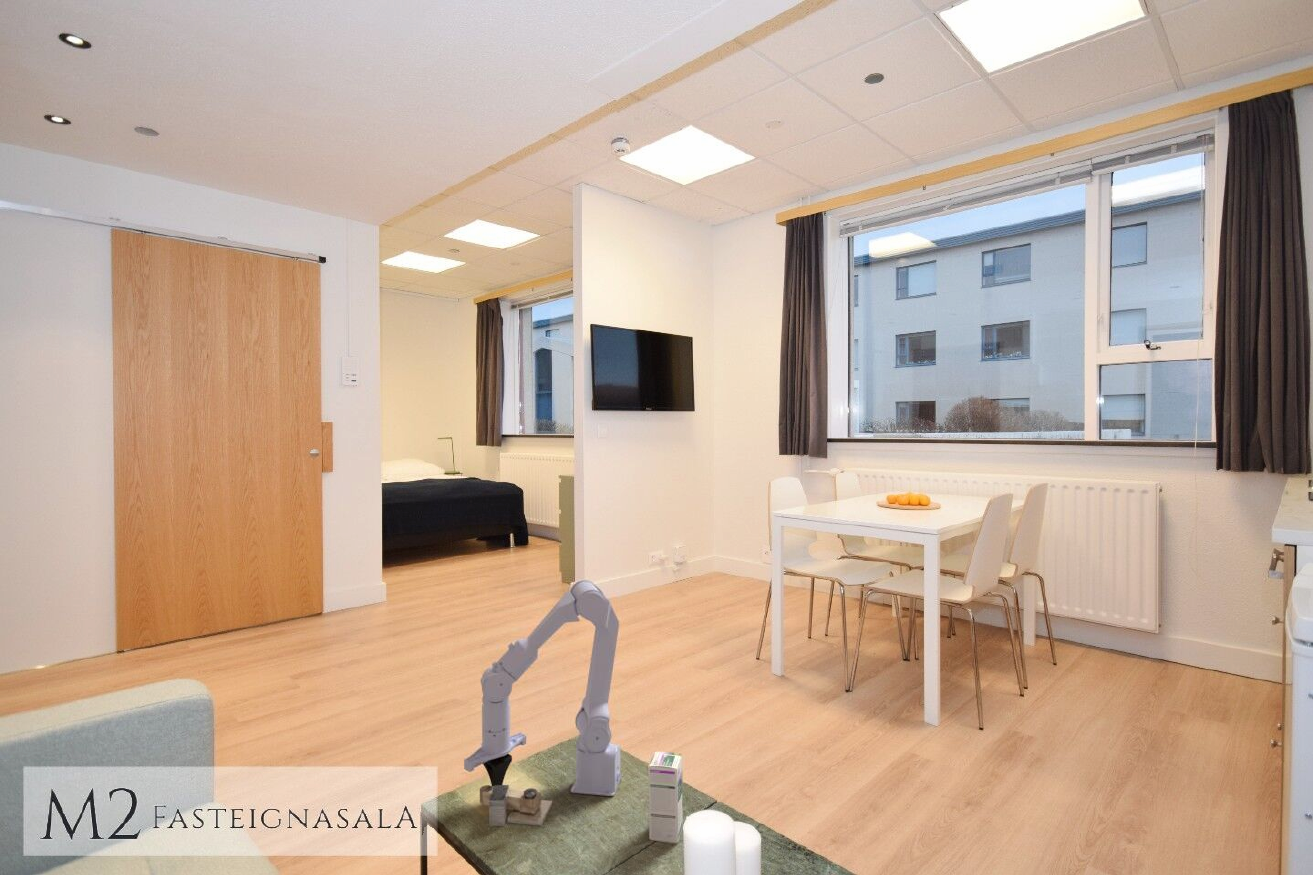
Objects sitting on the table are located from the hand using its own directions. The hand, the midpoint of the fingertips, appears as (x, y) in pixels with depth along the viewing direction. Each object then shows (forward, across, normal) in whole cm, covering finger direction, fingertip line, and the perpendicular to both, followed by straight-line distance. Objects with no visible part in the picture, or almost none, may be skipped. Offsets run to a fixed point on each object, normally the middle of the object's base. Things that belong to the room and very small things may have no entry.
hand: (496, 790), depth 136 cm
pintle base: (+2, -1, +9) cm, 9 cm away
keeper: (+2, +3, +5) cm, 7 cm away
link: (+1, +1, +5) cm, 5 cm away
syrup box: (+2, -14, +34) cm, 37 cm away
